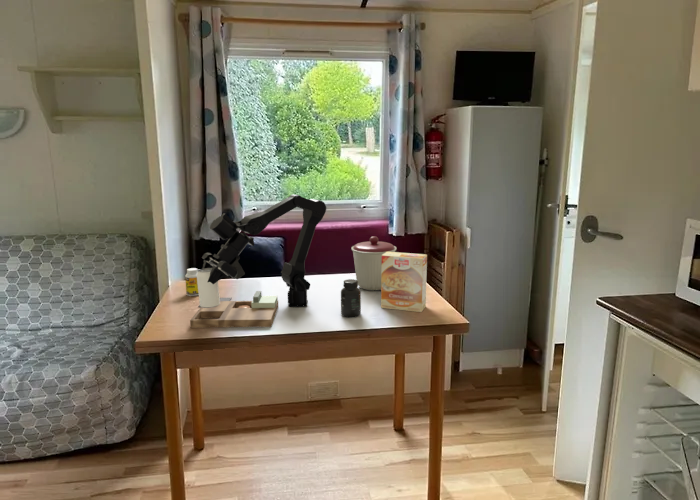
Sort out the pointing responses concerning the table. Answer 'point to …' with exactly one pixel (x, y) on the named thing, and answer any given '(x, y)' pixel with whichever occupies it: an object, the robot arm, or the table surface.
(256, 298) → the cover
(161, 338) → the table surface
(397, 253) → the coffeecake box
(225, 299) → the mat
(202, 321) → the puzzle board
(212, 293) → the can
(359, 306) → the supplement bottle
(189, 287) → the supplement bottle
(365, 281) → the canister
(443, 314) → the table surface
